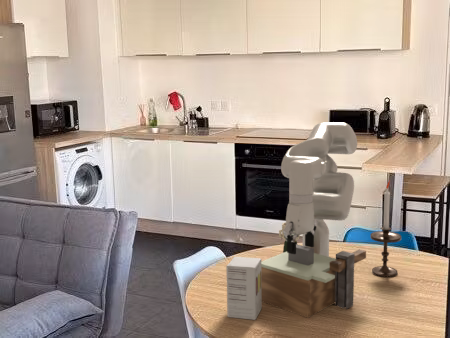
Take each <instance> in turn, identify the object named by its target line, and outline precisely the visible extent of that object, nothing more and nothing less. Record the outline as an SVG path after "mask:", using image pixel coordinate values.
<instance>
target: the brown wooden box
mask: <svg viewBox="0 0 450 338" xmlns="http://www.w3.org/2000/svg"><path fill="white" fill-rule="evenodd" d="M339 258H342V259H346V268H345V269H343V270H342V271H341V272H336V271H332V270H329V271H327V272H326V273H329V274H333V275H335V278H334V279H332V280H330V281H328V282H326V283H325V282H321V281H318V280H314V279H310V280H304V279H301V278H297V277H294V276H291V275H287V274H284V273H281V272H277V271H274V270H270V269H267V268H264V267H261V283H262V303H265V304H268V305H270V306H273V307H276V308H279V309H282V310H285V311H288V312H290V313H294V314H296V315H299V316H302V317H303V318H304V317H305V318H310V317H312V316H314V315H315V314H317V313H319V312H321V311H323V310H324V309H326V308H329V307H330V306H331V305H333V304H334V307H338V308H342V309H345V310H348V309H349V308H351V307H353V306H354V295H355V293H354V292H355V291H354V290H355V289H354V288H355V264H354V253H352V252H348V251H345V250H342V251H339V252H337V253H335V259H336V260H337V259H339Z"/></svg>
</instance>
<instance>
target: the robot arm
mask: <svg viewBox="0 0 450 338" xmlns="http://www.w3.org/2000/svg"><path fill="white" fill-rule="evenodd" d="M357 138H358V137H357V135H356V133H355V131H354V129H353V128H352V127H351V125H350V124H348V123H346V122H328V121H327V122H318V123H317V124H315V125H314V126H313V128H312V130H311V132H310V134H309V136H308V137H307V140H306V139H305V140H303V141H300V142H299V143H297V144H295V145H292V146H291V147H290V148H288V150H287V151H286V153H285V155H284V156H283V158H282V161H281V165H280V166H281V167H280V169H281V173H282V176H284V177H285V178H287V179H288V180H289V183H288V184H289V190H288V191H289V193H288V195H289V198H288V199H289V201H288V204H287V208H286V214H285V215H286V216H285V222H286V227H285V228H284V230H283V233H284V237H285V239H286V241H287V253H290V254H296V242H295V240H296V238H297V235H300V236H301V235H302V246H306V247H310V248H314V253H316V254H320V255H324V256H328V257H330V256H329V255H330V229H329V227H328V224H327V223H326V221H327V220H328V221H345V220H347V219H348V217H349V214H350V212H351V206H352V200H353V197H354V190H355V180H354V178H353V175H351V174H350V173H347V172H342V171H341V172H338V164H337V163H336V162H335V159H333V158H332V157H331V155H353V154H354V153H355V152H356V151H357V148H358V147H357V146H358V139H357ZM330 154H331V155H330ZM324 220H326V221H324ZM291 235H294V236H293V238H292V237H291ZM296 241H297V240H296Z"/></svg>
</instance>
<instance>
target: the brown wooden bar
mask: <svg viewBox="0 0 450 338" xmlns="http://www.w3.org/2000/svg"><path fill="white" fill-rule="evenodd" d="M351 253H354V265H356V264H357V263H359V262H361V261H364V260H365V259H367V250H364V249H360V248H359V249H357V250H355V251H353V252H351ZM345 268H346V259H342V258H339V259H337V260H335V261H331V262H330V269H329V270H332V271H336V272H341V271H342V270H343V269H345Z"/></svg>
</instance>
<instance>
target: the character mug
mask: <svg viewBox="0 0 450 338" xmlns="http://www.w3.org/2000/svg"><path fill="white" fill-rule="evenodd" d="M285 227H286V221H284V222H282V223H281V229H279V230H278V237H279V238H282V240H284V243H283V250H282V253H284V252H286V251H287V241H286V239H285V237H284V233H283V230H284V228H285ZM293 236H294V235H291V237H292V238H293ZM300 236H301V235H297V238H296V240H295V242H296V244H297V245H298V240H299V239H300Z"/></svg>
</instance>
